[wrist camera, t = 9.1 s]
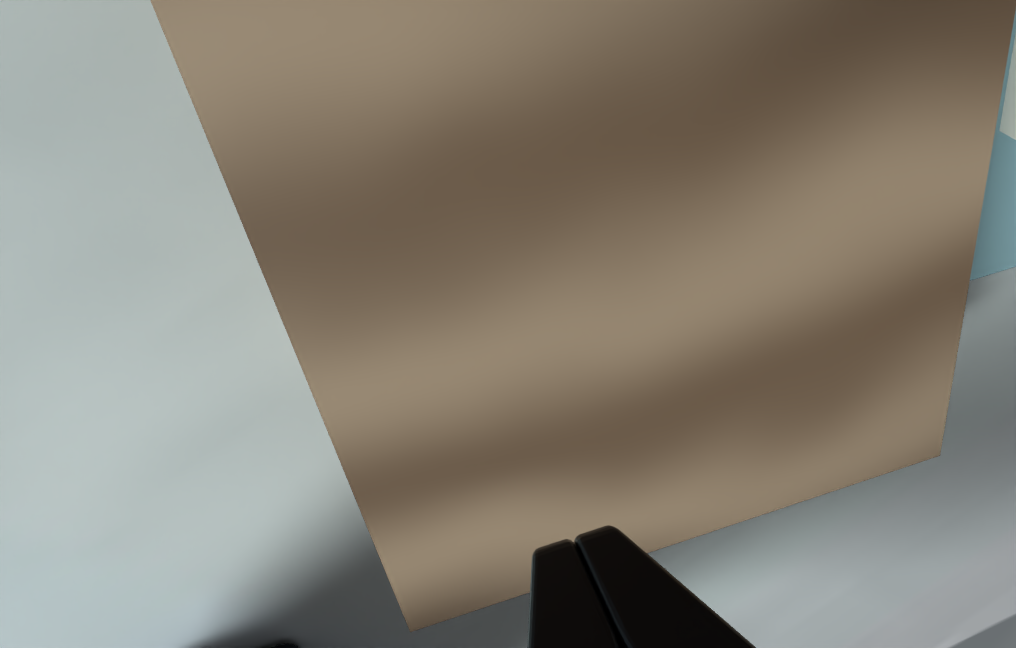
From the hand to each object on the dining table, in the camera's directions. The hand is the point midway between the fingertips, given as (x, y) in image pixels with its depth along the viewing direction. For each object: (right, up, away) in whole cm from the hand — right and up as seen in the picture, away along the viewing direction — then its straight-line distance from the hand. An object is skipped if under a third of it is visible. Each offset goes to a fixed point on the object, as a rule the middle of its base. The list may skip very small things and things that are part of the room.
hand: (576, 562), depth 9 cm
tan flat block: (+1, +8, +10) cm, 13 cm away
